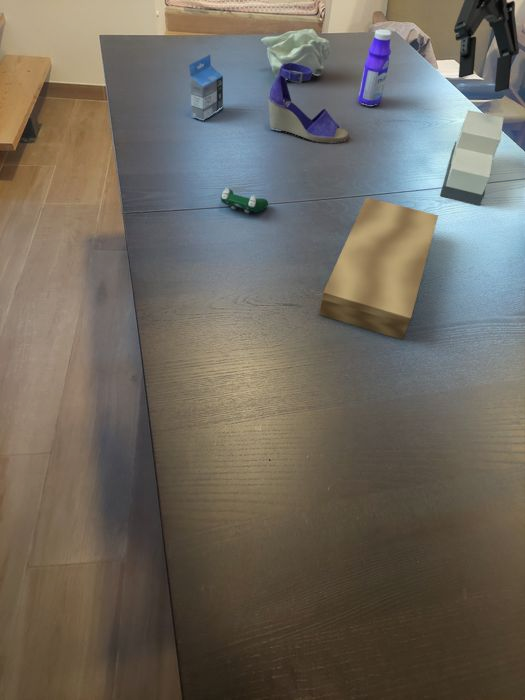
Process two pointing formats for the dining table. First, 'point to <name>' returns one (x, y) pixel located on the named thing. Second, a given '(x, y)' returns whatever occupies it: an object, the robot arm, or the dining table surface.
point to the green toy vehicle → (243, 201)
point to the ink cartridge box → (205, 88)
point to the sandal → (294, 118)
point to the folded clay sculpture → (297, 50)
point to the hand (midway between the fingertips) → (484, 83)
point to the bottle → (375, 68)
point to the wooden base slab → (380, 268)
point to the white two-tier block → (472, 158)
